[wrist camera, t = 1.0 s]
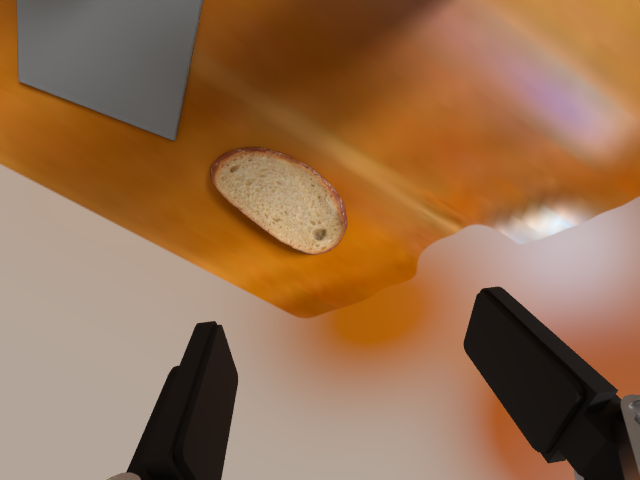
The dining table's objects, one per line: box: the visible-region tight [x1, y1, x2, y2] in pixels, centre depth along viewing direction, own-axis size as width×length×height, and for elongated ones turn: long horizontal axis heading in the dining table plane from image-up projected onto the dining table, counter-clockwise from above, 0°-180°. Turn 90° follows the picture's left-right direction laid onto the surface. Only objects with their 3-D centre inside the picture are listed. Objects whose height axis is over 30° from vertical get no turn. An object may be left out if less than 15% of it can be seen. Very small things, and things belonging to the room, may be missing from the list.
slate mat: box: [17, 0, 203, 141], centre depth 28 cm, size 20×16×1 cm
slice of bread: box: [210, 147, 347, 255], centre depth 39 cm, size 18×18×4 cm
